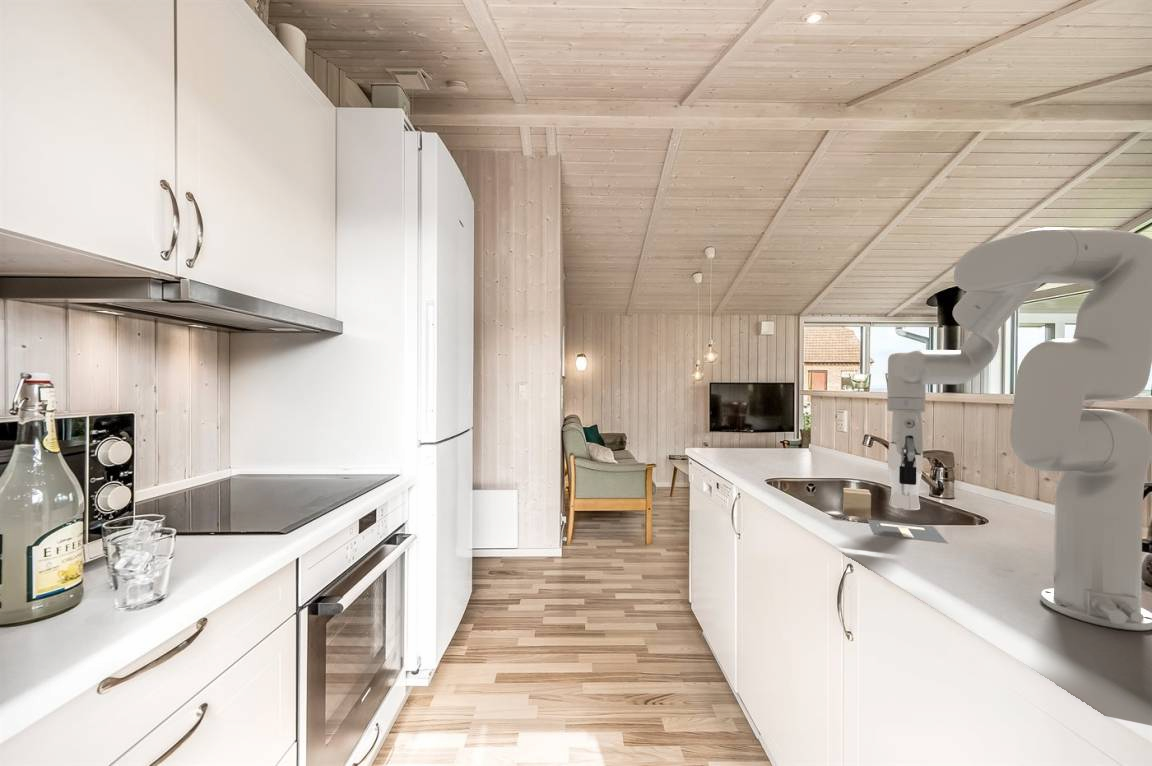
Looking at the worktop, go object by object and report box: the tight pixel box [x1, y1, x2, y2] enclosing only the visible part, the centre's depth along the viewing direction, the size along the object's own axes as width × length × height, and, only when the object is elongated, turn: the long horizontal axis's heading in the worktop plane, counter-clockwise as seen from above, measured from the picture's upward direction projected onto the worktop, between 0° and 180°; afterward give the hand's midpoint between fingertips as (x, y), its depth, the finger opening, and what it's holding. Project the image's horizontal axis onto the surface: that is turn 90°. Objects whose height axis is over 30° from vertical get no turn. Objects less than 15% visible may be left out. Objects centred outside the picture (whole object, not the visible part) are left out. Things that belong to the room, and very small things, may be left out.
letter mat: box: [867, 519, 949, 544], centre depth 119 cm, size 14×14×1 cm
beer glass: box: [887, 441, 924, 511], centre depth 119 cm, size 7×7×15 cm
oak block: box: [842, 487, 872, 519], centre depth 134 cm, size 6×6×7 cm
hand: (904, 480), depth 119 cm, fingers closed on beer glass, 6 cm apart
